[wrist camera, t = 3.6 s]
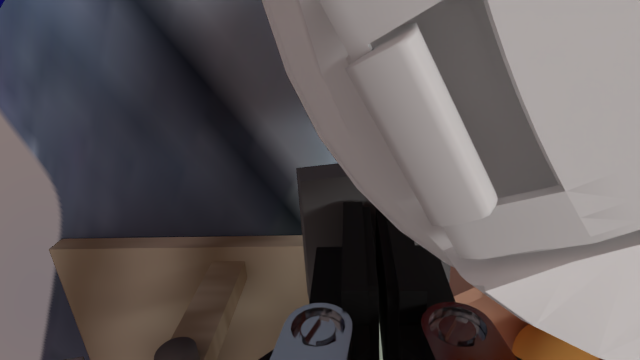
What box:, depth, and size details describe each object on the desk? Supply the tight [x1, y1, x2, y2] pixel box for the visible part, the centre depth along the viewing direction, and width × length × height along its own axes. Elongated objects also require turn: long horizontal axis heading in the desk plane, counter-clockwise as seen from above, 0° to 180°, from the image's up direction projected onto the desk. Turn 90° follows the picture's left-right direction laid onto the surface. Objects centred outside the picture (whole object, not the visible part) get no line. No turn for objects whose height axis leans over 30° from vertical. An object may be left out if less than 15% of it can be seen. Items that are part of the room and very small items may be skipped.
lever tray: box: [65, 163, 451, 360], centre depth 15 cm, size 17×15×6 cm
